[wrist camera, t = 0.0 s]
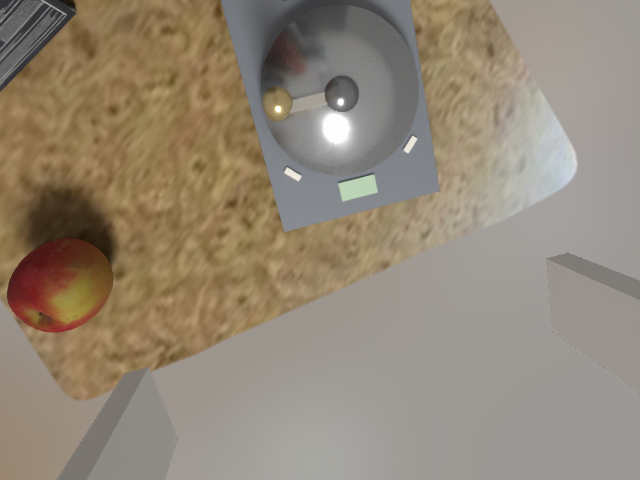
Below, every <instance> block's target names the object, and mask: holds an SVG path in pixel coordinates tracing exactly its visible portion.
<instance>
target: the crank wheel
mask: <svg viewBox="0 0 640 480" xmlns="http://www.w3.org/2000/svg"><path fill="white" fill-rule="evenodd" d="M260 95H261V105H262V110H263V114H264V117H265V120H266V123H267V126H268V128H269V130H270V132H271V134H272V136H273V137H274V139H275V140H276V142H277V143H278V145H279V146H280V147H281V148H282V149H283V150H284V152H286V153H287V154H288V155H289V156H290V157H291V158H292V159H293V160H295V161H296V162H298V163H299V164H301V165H303V166H304V167H306V168H308V169H311V170H313V171H316V172H319V173H323V174H328V175H351V174H356V173H360V172H363V171H366V170H369V169H371V168H373V167H375V166H377V165H378V164H380V163H381V162H383V161H384V160H386V159H387V158H388V157H389V156H390V155H392V154H393V153H394V152H395V150H396V149H397V148H398V147H399V146H400V145H401V143H402V142H403V141H404V139H405V138H406V136H407V134H408V132H409V130H410V129H411V126H412V124H413V121H414V118H415V115H416V111H417V106H418V99H419V81H418V74H417V69H416V65H415V62H414V59H413V56H412V54H411V52H410V50H409V48H408V46H407V44H406V43H405V41H404V40H403V38H402V37H401V35H400V34H399V33H398V32H397V31H396V30H395V28H394V27H393V26H391V25H390V24H389V23H388V22H387V21H386V20H384V19H383V18H381V17H380V16H378V15H377V14H375V13H372V12H370V11H368V10H366V9H363V8H359V7H356V6H349V5H330V6H324V7H320V8H317V9H314V10H311V11H309V12H307V13H305V14H303V15H301V16H300V17H298V18H297V19H295V20H294V21H292V22H291V23H290V24H289V25H288V26H287V27H286V28H285V29H284V30H283V31H282V32H281V33H280V35H279V36H278V37H277V39H276V40H275V42H274V43H273V45H272V46H271V48H270V51H269V53H268V55H267V57H266V60H265V63H264V66H263V70H262V76H261V86H260Z"/></svg>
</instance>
